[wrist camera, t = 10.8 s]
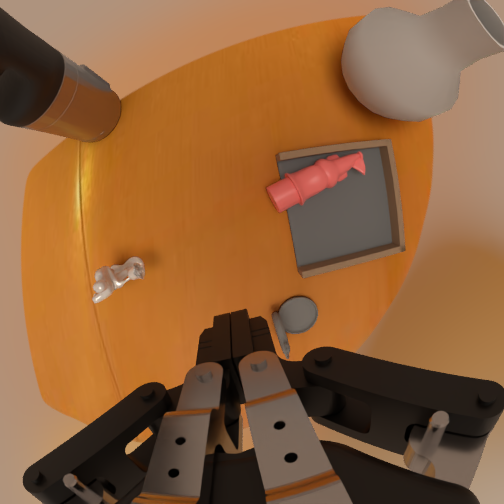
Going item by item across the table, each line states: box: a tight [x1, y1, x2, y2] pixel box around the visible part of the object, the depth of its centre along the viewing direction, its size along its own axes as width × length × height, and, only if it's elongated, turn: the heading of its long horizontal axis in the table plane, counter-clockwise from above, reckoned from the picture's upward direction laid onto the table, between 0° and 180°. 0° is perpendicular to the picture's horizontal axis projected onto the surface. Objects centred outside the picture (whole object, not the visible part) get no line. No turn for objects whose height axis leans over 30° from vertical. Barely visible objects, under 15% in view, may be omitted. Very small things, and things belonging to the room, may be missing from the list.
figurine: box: [93, 256, 145, 303], centre depth 35 cm, size 5×9×12 cm, turn 124°
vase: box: [341, 0, 504, 122], centre depth 23 cm, size 17×16×28 cm
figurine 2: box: [266, 151, 365, 213], centre depth 37 cm, size 5×5×15 cm
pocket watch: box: [272, 297, 318, 359], centre depth 40 cm, size 8×8×10 cm
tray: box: [275, 139, 405, 278], centre depth 40 cm, size 18×18×3 cm
